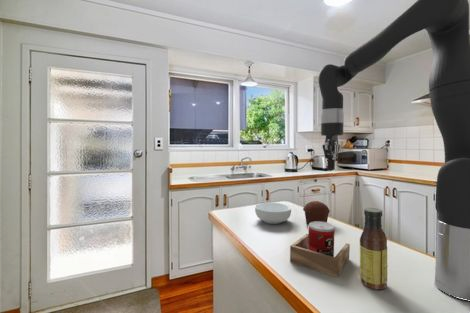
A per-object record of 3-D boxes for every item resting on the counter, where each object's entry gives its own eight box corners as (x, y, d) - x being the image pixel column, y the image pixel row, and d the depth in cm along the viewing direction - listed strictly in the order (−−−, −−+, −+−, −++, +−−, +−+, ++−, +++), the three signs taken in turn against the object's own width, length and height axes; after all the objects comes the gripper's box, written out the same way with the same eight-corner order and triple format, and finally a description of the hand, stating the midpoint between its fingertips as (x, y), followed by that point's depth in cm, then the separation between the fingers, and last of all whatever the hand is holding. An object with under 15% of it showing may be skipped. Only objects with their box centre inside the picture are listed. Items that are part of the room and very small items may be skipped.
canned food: (318, 267, 72) (319, 231, 71) (303, 255, 79) (303, 222, 79) (339, 263, 74) (340, 228, 73) (322, 252, 81) (323, 220, 81)
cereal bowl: (294, 227, 105) (294, 211, 104) (256, 227, 105) (256, 211, 105) (287, 216, 122) (287, 202, 121) (254, 215, 122) (254, 202, 121)
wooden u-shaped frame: (306, 247, 85) (306, 233, 85) (349, 259, 76) (349, 244, 76) (290, 261, 75) (290, 245, 75) (336, 277, 66) (337, 259, 66)
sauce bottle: (377, 277, 66) (379, 206, 65) (392, 291, 60) (395, 212, 59) (353, 277, 66) (355, 206, 65) (367, 291, 60) (369, 213, 59)
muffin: (318, 218, 117) (318, 198, 116) (335, 226, 107) (335, 204, 106) (297, 221, 113) (297, 200, 112) (313, 229, 102) (313, 206, 102)
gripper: (337, 120, 79) (336, 172, 81) (348, 122, 90) (346, 169, 91) (315, 121, 84) (314, 170, 85) (327, 123, 94) (326, 167, 95)
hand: (331, 169), depth 88 cm, fingers closed
